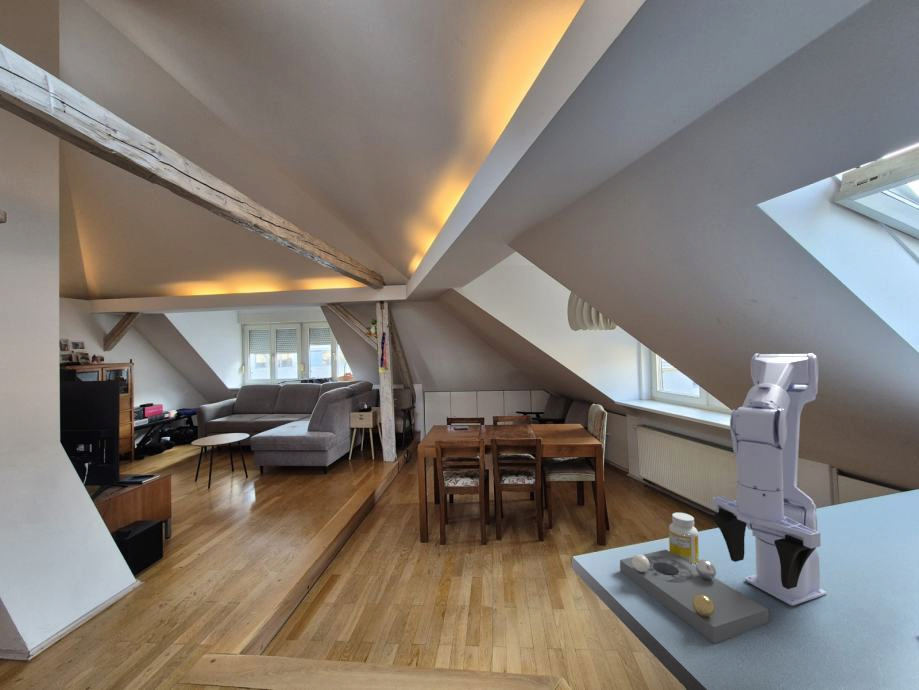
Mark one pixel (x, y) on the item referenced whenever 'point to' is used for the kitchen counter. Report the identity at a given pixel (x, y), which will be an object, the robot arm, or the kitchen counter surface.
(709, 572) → the steel ball
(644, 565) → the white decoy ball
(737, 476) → the robot arm
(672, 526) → the supplement bottle
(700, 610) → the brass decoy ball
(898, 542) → the kitchen counter surface
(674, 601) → the plate
